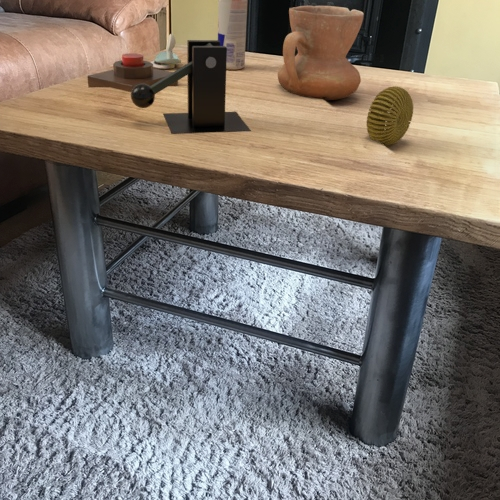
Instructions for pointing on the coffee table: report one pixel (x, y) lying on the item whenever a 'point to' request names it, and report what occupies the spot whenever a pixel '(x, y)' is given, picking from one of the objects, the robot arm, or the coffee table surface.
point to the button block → (128, 76)
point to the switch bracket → (206, 93)
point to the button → (132, 60)
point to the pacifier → (167, 56)
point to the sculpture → (390, 115)
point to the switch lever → (157, 86)
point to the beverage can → (233, 31)
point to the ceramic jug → (320, 52)
